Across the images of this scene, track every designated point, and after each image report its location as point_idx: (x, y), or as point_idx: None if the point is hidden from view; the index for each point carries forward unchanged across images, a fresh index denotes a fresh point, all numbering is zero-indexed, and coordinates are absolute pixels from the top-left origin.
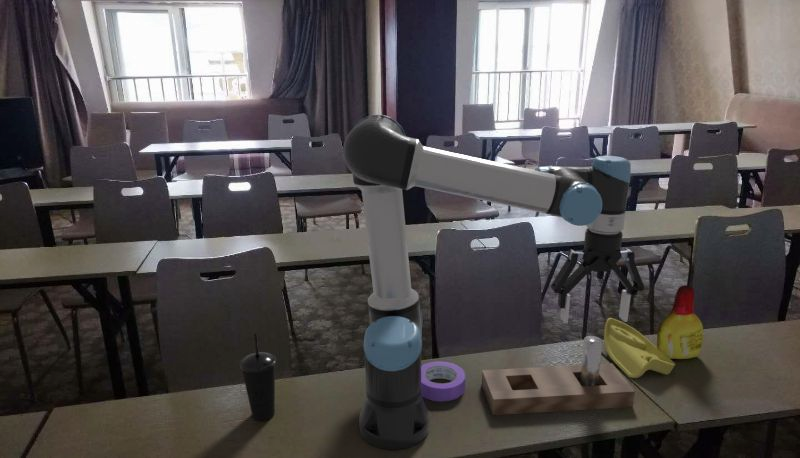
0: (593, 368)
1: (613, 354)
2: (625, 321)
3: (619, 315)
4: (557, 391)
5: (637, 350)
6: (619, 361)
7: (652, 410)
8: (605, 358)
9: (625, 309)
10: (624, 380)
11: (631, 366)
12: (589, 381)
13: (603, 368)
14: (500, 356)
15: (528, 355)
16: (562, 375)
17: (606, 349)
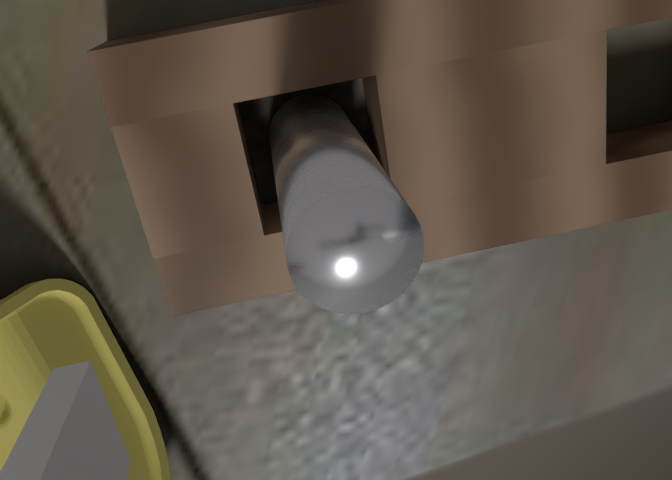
0: (326, 132)
1: (140, 437)
2: (74, 364)
3: (123, 462)
4: (516, 12)
5: None
6: (119, 393)
7: (9, 17)
8: (177, 421)
9: (48, 469)
10: (130, 160)
11: (68, 348)
12: (330, 114)
13: (225, 262)
14: (620, 372)
15: (505, 395)
16: (451, 173)
17: (168, 467)
